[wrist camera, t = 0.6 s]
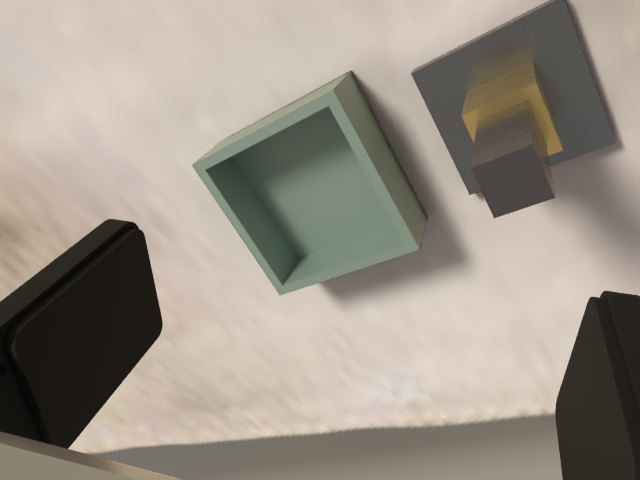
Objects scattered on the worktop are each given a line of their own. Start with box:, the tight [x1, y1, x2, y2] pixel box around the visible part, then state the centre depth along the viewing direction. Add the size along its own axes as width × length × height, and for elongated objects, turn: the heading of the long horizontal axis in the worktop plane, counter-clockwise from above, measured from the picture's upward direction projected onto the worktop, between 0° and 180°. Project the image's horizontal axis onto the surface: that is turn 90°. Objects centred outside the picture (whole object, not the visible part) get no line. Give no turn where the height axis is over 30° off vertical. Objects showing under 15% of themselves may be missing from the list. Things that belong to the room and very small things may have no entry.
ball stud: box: [411, 0, 616, 195], centre depth 34 cm, size 10×10×5 cm
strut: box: [462, 62, 563, 218], centre depth 31 cm, size 4×4×12 cm
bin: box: [192, 71, 428, 295], centre depth 42 cm, size 13×13×5 cm
